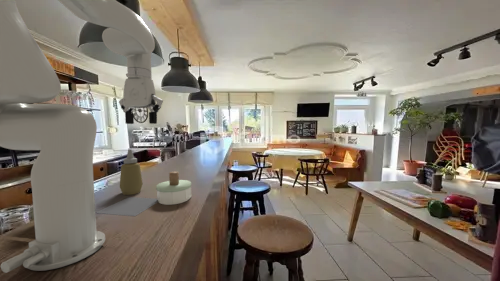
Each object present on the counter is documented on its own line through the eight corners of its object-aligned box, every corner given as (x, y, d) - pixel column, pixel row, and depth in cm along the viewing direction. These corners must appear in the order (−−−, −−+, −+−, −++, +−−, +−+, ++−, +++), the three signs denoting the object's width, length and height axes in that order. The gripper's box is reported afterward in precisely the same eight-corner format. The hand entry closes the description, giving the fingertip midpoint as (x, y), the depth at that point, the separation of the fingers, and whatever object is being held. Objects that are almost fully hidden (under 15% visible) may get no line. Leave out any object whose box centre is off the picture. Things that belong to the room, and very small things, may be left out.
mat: (135, 218, 58) (135, 216, 58) (94, 214, 60) (94, 213, 60) (163, 200, 72) (163, 198, 72) (129, 198, 74) (128, 196, 74)
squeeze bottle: (135, 197, 75) (133, 150, 74) (114, 197, 75) (112, 150, 74) (147, 190, 83) (145, 148, 82) (128, 190, 83) (126, 148, 82)
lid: (181, 193, 65) (181, 177, 65) (148, 191, 67) (148, 175, 66) (196, 183, 77) (196, 169, 76) (168, 181, 79) (167, 168, 78)
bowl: (181, 207, 66) (180, 192, 66) (151, 205, 68) (150, 191, 67) (195, 195, 77) (194, 183, 76) (169, 194, 78) (168, 182, 78)
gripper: (110, 74, 68) (112, 123, 69) (154, 71, 65) (155, 123, 66) (127, 79, 75) (129, 124, 76) (167, 77, 72) (168, 123, 73)
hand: (141, 123), depth 71 cm, fingers open, 9 cm apart
